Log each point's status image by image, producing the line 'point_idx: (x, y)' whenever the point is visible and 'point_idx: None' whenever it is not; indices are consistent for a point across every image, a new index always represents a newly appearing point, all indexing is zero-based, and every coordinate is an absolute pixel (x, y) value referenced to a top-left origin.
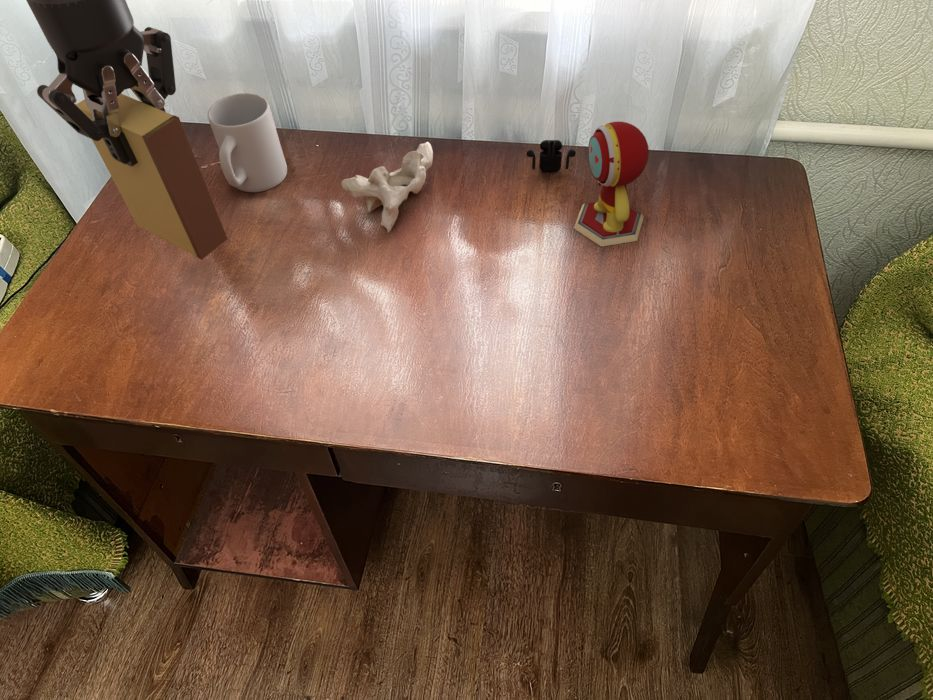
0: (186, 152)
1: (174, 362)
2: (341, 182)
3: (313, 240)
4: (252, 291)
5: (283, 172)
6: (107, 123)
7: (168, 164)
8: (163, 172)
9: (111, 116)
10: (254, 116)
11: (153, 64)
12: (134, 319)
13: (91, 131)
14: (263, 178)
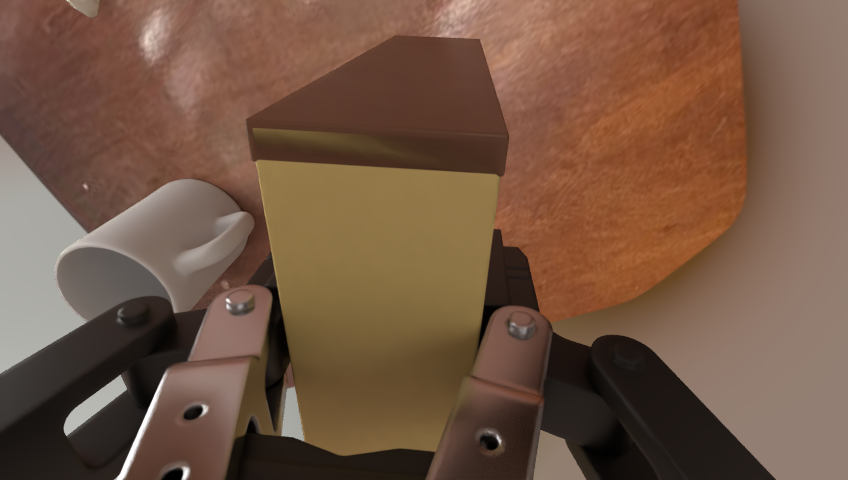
0: (346, 81)
1: (604, 34)
2: (89, 16)
3: (242, 17)
4: (404, 30)
5: (169, 184)
6: (545, 369)
7: (451, 85)
8: (488, 84)
9: (509, 382)
10: (112, 280)
11: (66, 472)
12: (547, 169)
13: (658, 384)
14: (203, 196)
